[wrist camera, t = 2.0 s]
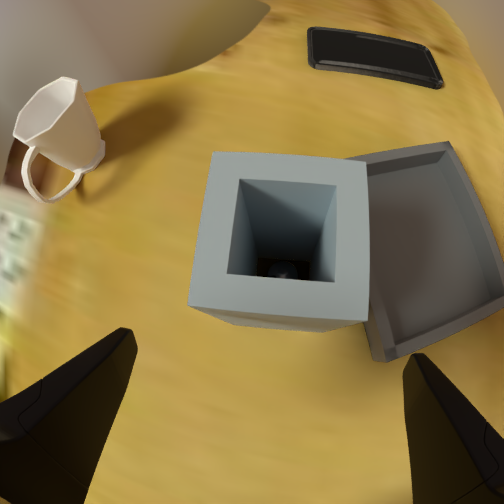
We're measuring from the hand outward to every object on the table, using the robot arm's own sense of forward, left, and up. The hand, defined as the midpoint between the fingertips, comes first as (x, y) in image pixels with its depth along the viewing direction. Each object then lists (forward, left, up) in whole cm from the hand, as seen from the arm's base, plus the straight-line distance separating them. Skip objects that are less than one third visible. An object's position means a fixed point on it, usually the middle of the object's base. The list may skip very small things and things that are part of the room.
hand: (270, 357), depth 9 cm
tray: (+4, -12, -11) cm, 17 cm away
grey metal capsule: (+4, -2, -11) cm, 12 cm away
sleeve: (+4, -2, -11) cm, 12 cm away
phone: (+25, -19, -12) cm, 33 cm away
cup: (+19, +13, -12) cm, 26 cm away
